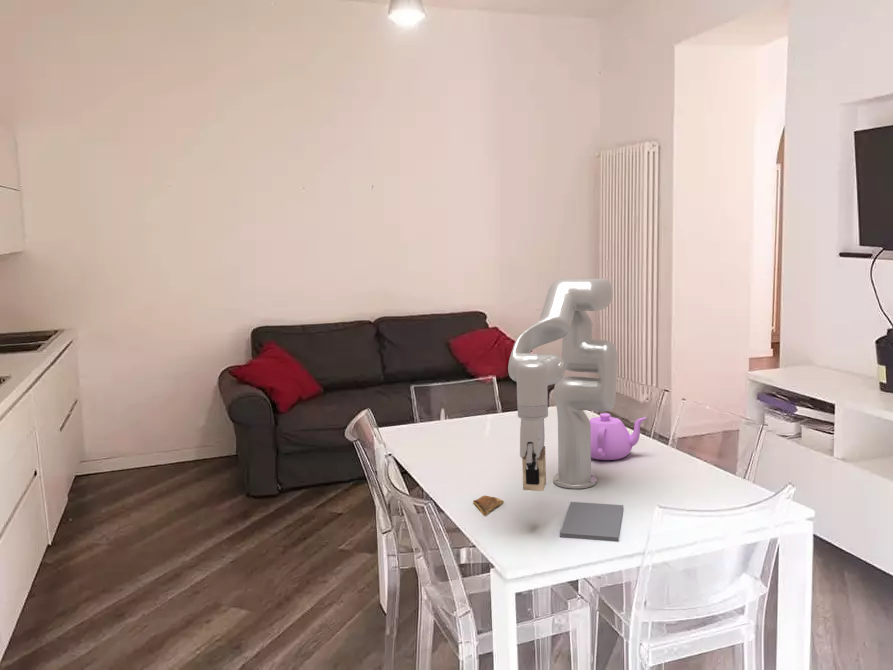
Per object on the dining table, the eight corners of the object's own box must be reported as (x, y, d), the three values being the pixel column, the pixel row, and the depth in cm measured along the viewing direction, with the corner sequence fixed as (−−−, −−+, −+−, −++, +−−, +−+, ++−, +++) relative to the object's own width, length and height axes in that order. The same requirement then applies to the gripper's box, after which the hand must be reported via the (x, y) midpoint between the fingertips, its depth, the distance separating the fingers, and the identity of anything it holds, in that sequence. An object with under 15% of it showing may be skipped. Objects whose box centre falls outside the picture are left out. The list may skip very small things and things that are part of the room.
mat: (570, 505, 219) (570, 501, 219) (623, 508, 215) (623, 505, 215) (560, 536, 198) (560, 533, 198) (618, 541, 194) (618, 537, 194)
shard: (485, 518, 213) (485, 511, 213) (460, 513, 217) (460, 506, 217) (504, 505, 222) (504, 498, 222) (481, 500, 226) (480, 494, 226)
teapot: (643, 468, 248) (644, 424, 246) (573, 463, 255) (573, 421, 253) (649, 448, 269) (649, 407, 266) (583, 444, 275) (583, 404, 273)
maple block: (526, 482, 206) (525, 445, 204) (546, 483, 204) (545, 446, 203) (523, 490, 201) (522, 451, 199) (543, 491, 200) (542, 452, 198)
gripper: (523, 400, 208) (525, 467, 212) (511, 419, 192) (513, 491, 195) (552, 401, 206) (554, 469, 210) (542, 420, 190) (544, 493, 193)
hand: (534, 479), depth 202 cm, fingers closed on maple block, 5 cm apart
